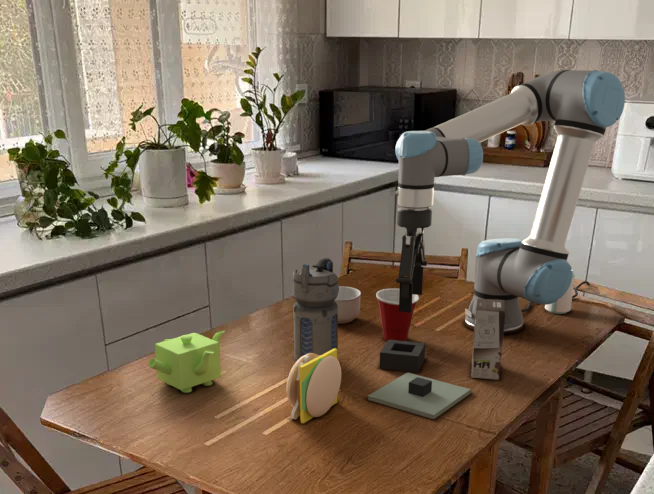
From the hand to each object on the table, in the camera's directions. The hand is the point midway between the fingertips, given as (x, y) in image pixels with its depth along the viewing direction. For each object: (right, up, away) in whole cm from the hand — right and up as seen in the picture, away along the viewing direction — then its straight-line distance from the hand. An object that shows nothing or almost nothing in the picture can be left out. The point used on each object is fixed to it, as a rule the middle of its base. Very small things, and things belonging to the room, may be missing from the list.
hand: (410, 302), depth 175 cm
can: (+46, +2, +45) cm, 65 cm away
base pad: (+1, -21, -9) cm, 23 cm away
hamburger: (-22, -24, -15) cm, 35 cm away
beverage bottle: (-21, -14, +9) cm, 27 cm away
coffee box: (+18, -16, +4) cm, 24 cm away
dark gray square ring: (-1, -13, +9) cm, 16 cm away
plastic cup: (-1, -7, +24) cm, 25 cm away
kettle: (-49, -18, -2) cm, 52 cm away
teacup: (-17, -1, +39) cm, 42 cm away
